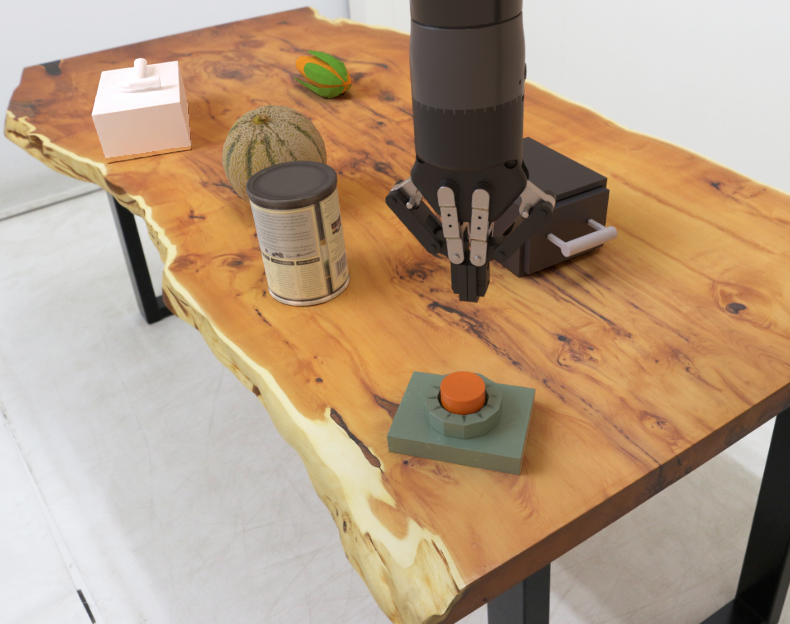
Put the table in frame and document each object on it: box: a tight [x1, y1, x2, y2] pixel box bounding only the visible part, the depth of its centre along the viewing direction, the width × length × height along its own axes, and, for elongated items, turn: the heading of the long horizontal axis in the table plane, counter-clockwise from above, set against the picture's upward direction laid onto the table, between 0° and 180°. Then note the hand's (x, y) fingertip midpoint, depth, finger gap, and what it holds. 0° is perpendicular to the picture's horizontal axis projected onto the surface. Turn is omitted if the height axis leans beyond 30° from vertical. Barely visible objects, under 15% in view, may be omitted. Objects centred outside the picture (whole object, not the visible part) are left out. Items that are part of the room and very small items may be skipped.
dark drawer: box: [523, 186, 618, 275], centre depth 88 cm, size 19×11×8 cm, turn 28°
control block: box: [386, 370, 537, 476], centre depth 66 cm, size 12×9×4 cm
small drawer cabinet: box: [469, 136, 608, 278], centre depth 91 cm, size 16×13×10 cm
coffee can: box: [246, 161, 351, 307], centre depth 84 cm, size 10×10×14 cm
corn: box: [293, 49, 353, 99], centre depth 144 cm, size 7×8×20 cm
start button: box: [440, 370, 485, 415], centre depth 64 cm, size 4×4×2 cm
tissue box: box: [90, 57, 192, 159], centre depth 131 cm, size 14×25×11 cm, turn 15°
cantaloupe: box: [221, 104, 328, 205], centre depth 102 cm, size 15×15×15 cm
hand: (471, 296), depth 58 cm, fingers closed
